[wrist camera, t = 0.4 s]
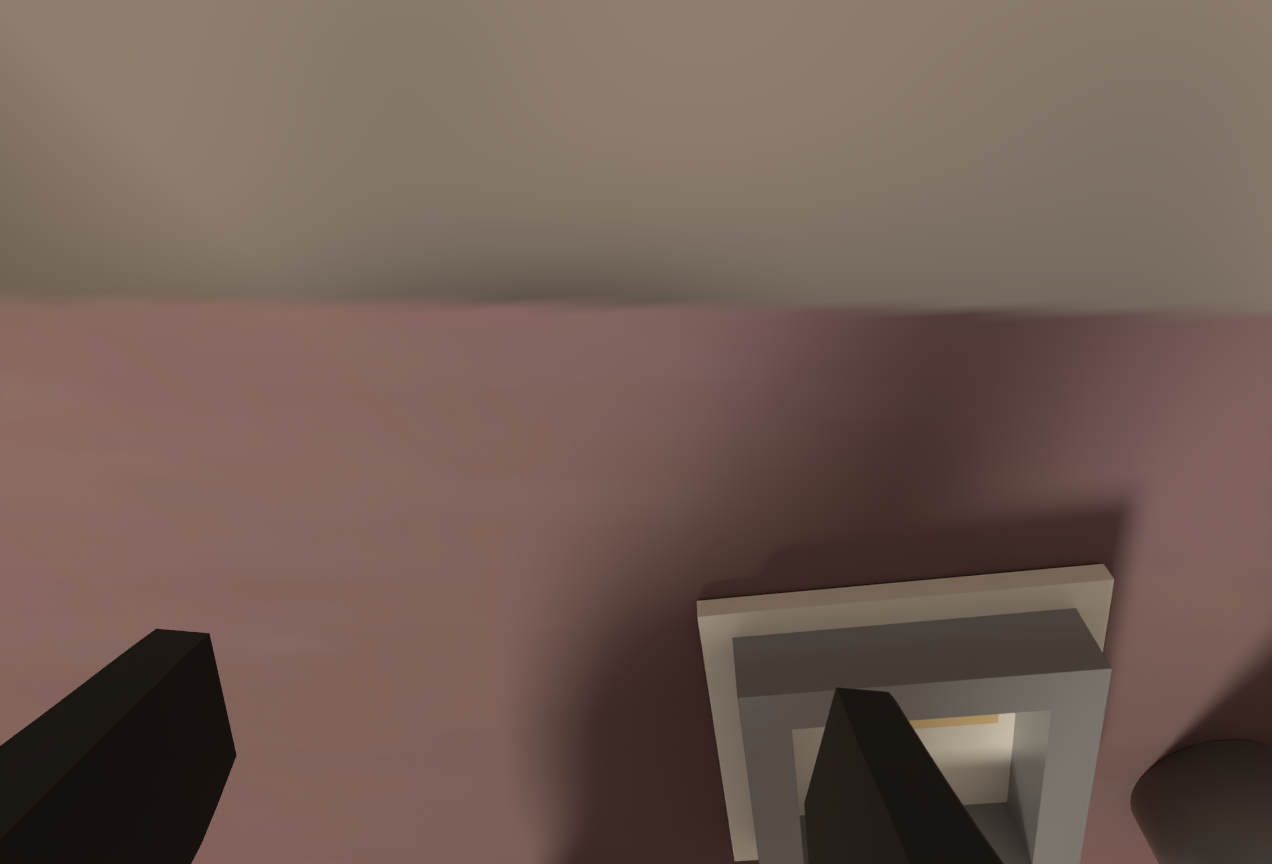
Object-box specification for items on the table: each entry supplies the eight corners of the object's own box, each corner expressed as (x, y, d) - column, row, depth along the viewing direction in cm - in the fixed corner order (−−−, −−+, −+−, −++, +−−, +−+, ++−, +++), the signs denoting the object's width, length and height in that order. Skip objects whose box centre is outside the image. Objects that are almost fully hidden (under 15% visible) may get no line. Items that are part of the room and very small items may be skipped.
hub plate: (1064, 823, 26) (1102, 907, 24) (733, 843, 27) (739, 926, 25) (1103, 563, 21) (1154, 638, 19) (696, 600, 22) (699, 676, 20)
